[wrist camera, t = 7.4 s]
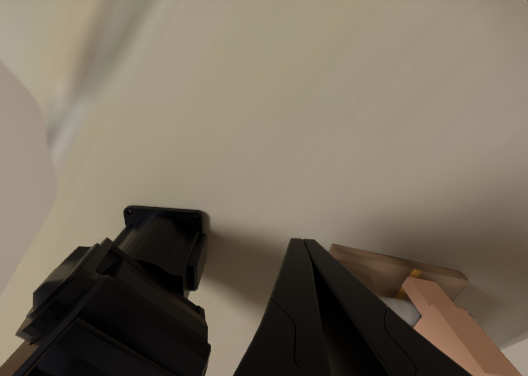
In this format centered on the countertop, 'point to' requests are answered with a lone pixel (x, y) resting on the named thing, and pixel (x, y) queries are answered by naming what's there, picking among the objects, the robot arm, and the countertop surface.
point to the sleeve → (455, 331)
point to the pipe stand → (396, 278)
